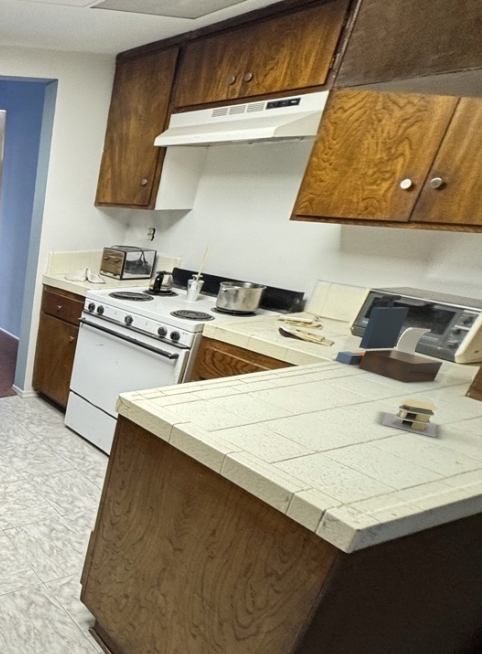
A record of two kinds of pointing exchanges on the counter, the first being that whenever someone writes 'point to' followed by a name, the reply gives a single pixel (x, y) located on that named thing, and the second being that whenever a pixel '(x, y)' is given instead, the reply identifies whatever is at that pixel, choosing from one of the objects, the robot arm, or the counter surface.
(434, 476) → the counter surface
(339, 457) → the counter surface
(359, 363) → the block
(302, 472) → the counter surface
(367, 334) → the blue slab
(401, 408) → the stacked layers on plate
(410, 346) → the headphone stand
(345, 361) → the grey-blue packet
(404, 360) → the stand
